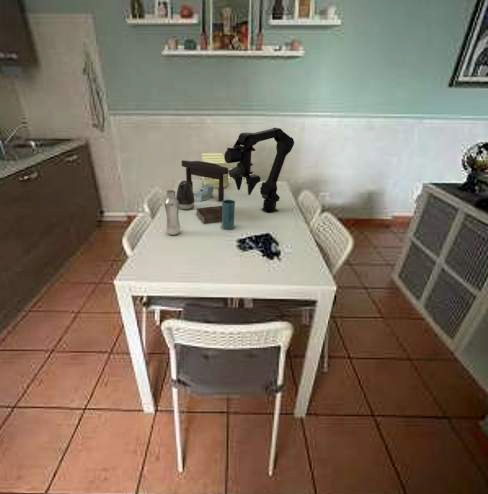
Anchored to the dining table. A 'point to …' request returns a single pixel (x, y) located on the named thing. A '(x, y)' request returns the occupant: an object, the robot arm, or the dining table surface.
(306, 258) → the dining table surface
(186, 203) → the black rounded dome
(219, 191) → the stool
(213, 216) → the holder
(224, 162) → the pale yellow striped pieces
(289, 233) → the dining table surface
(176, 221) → the plastic bottle
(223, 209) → the tumbler
